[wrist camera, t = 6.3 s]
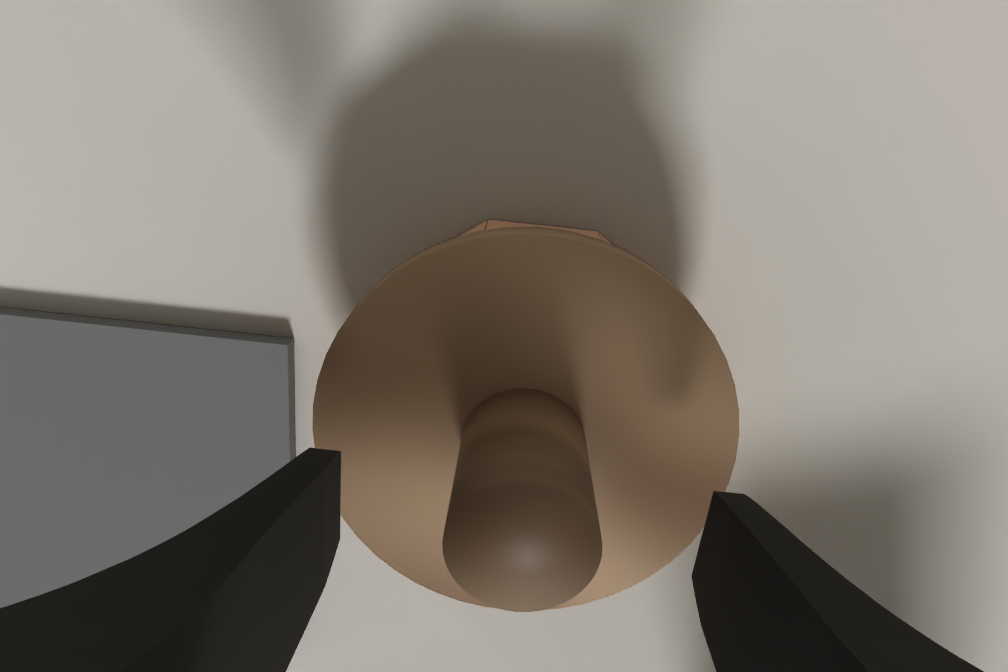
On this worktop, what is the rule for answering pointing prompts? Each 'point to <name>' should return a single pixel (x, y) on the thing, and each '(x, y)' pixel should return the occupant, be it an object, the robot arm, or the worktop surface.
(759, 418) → the worktop surface
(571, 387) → the lid
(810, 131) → the worktop surface
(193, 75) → the worktop surface
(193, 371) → the mat
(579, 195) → the worktop surface
